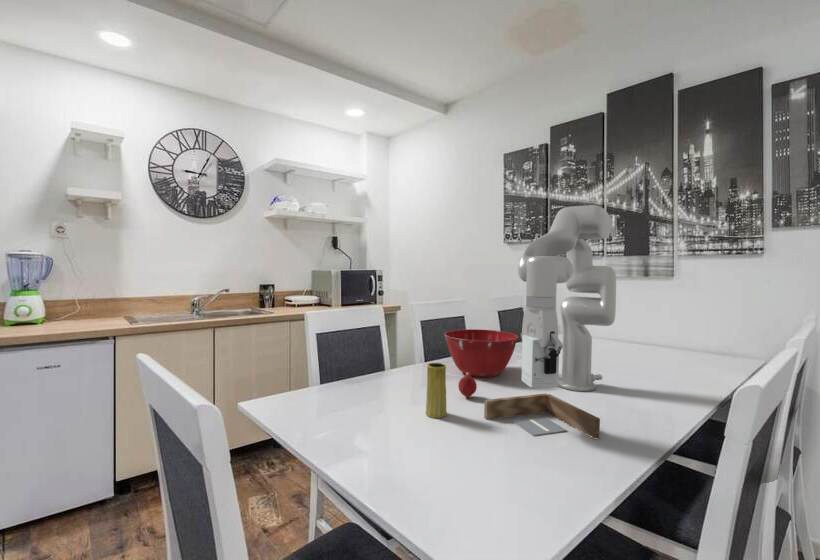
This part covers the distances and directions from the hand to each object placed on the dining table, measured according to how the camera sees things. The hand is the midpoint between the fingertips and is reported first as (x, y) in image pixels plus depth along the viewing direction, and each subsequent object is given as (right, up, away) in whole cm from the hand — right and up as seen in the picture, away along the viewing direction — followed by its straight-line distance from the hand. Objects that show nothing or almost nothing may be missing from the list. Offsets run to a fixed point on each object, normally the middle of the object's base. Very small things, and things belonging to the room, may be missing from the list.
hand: (539, 369), depth 109 cm
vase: (-27, -15, +9) cm, 32 cm away
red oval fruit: (-16, -15, +24) cm, 32 cm away
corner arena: (-1, -15, -1) cm, 15 cm away
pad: (0, -15, +1) cm, 15 cm away
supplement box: (0, -4, 0) cm, 4 cm away
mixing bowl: (-6, -13, +54) cm, 56 cm away
